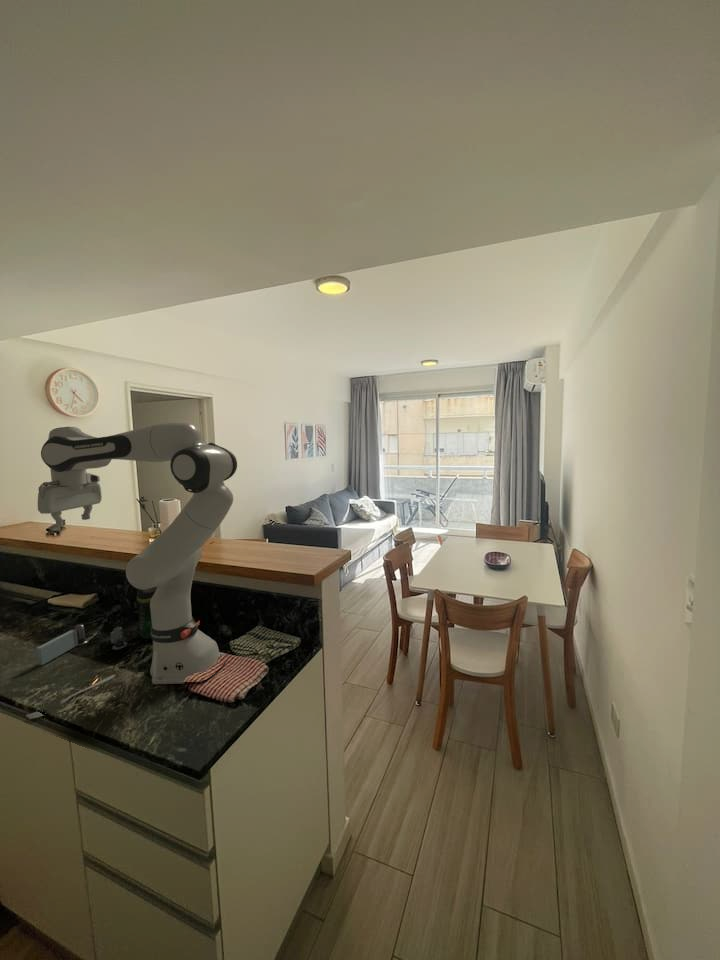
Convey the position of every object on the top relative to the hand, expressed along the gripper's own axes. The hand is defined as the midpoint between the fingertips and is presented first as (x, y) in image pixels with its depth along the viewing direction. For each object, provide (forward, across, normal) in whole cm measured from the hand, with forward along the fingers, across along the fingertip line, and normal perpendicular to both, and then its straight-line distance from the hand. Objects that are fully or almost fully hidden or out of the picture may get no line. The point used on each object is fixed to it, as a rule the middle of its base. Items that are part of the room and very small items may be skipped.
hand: (74, 522), depth 119 cm
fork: (+46, -17, -13) cm, 51 cm away
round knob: (+45, +9, +10) cm, 47 cm away
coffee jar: (+45, +16, -13) cm, 50 cm away
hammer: (+45, +7, -5) cm, 46 cm away
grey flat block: (+45, +1, +11) cm, 46 cm away
